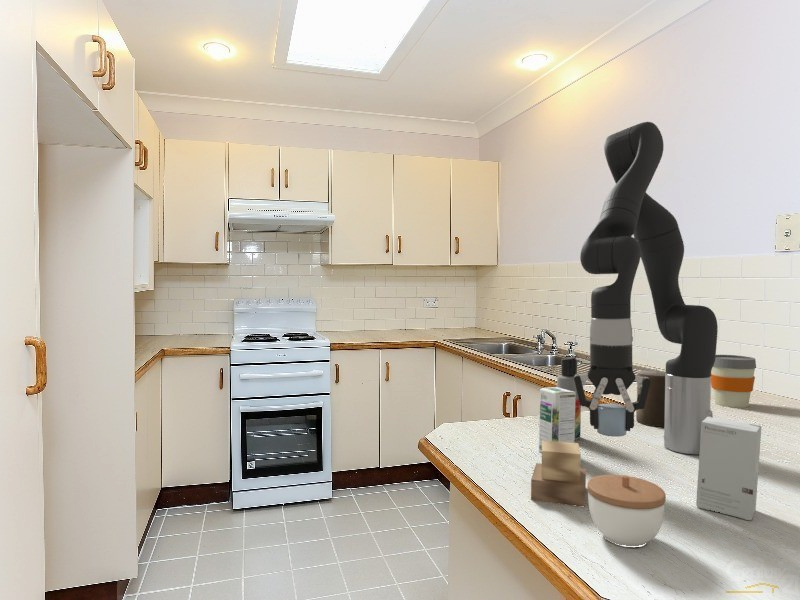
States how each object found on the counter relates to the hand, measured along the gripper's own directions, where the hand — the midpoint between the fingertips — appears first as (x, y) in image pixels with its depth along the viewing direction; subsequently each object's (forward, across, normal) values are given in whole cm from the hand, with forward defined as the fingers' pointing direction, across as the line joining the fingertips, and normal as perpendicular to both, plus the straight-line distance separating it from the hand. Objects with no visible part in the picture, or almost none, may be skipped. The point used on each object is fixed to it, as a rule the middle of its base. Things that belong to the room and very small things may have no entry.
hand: (611, 428), depth 101 cm
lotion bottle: (+11, +8, -27) cm, 30 cm away
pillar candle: (+11, -14, -50) cm, 53 cm away
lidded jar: (+10, 0, +24) cm, 26 cm away
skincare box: (+11, -18, +7) cm, 22 cm away
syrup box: (+10, +11, -13) cm, 20 cm away
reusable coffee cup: (+12, -40, -81) cm, 91 cm away
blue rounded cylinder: (+1, 0, 0) cm, 1 cm away
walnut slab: (+10, +10, +10) cm, 17 cm away
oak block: (+6, +9, +10) cm, 15 cm away
